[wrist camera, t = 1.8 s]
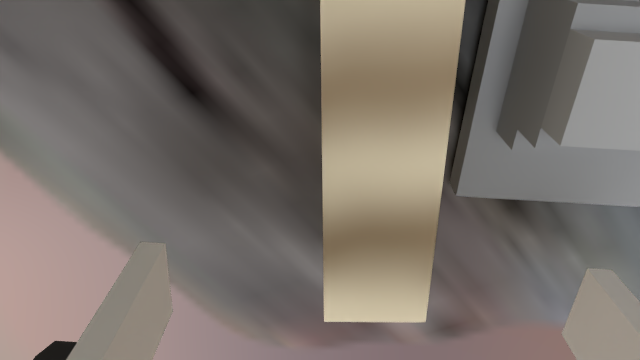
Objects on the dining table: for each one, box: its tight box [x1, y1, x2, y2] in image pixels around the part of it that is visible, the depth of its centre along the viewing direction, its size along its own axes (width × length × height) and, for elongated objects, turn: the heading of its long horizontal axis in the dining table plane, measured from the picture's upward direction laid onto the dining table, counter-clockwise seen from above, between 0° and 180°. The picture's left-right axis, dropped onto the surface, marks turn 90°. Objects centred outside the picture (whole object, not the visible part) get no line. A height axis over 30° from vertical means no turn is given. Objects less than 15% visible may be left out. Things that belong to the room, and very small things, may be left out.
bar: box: [320, 0, 465, 322], centre depth 16 cm, size 20×4×5 cm, turn 1°
